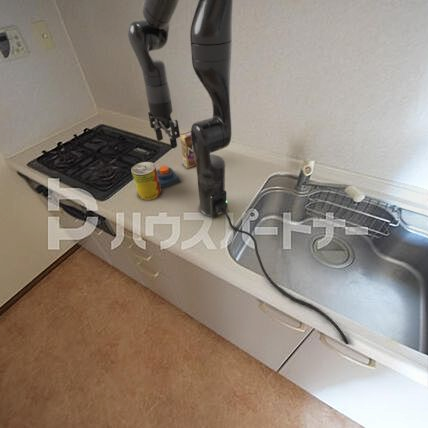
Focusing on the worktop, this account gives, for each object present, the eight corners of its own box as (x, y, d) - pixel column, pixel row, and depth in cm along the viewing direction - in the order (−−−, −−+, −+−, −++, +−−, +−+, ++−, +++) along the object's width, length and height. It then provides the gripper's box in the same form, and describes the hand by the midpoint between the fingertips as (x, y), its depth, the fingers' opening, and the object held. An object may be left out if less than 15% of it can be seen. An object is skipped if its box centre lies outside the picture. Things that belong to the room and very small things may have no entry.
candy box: (187, 169, 108) (184, 137, 97) (183, 165, 110) (179, 134, 100) (204, 162, 111) (202, 131, 100) (199, 158, 114) (197, 128, 103)
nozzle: (171, 172, 100) (170, 168, 99) (162, 176, 99) (161, 172, 97) (166, 168, 102) (165, 164, 101) (158, 171, 101) (157, 167, 100)
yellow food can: (157, 200, 93) (150, 175, 85) (135, 199, 94) (127, 174, 86) (164, 186, 99) (158, 162, 91) (143, 185, 101) (136, 160, 92)
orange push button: (179, 181, 101) (178, 173, 99) (162, 188, 99) (161, 180, 96) (169, 170, 108) (167, 163, 105) (152, 177, 105) (150, 169, 102)
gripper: (137, 96, 79) (147, 141, 91) (162, 107, 72) (171, 154, 83) (155, 90, 83) (163, 134, 94) (181, 99, 75) (187, 146, 87)
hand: (167, 143), depth 89 cm, fingers open, 8 cm apart
